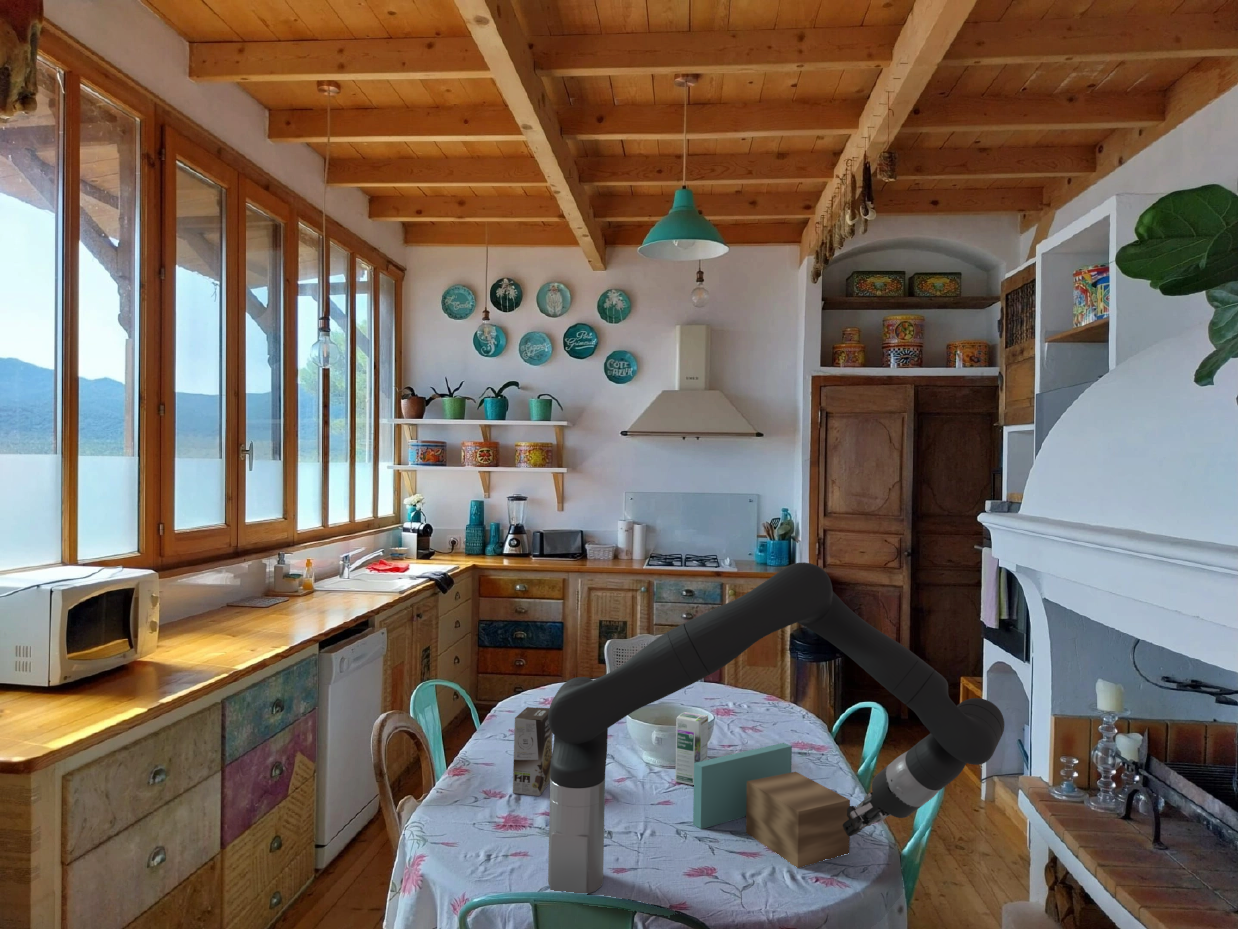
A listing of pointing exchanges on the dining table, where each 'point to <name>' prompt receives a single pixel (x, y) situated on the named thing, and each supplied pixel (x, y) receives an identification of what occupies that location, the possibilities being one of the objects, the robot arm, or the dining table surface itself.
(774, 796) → the walnut block
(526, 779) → the coffee box
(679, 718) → the syrup box
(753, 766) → the teal board
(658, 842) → the dining table surface
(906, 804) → the robot arm
